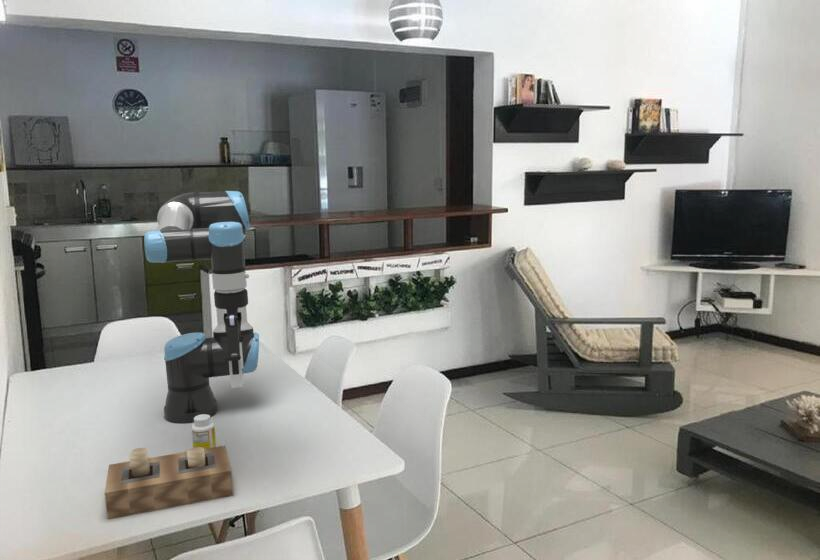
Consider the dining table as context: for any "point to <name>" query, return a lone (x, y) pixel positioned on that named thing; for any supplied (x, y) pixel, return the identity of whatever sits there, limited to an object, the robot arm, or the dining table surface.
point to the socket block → (167, 483)
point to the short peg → (196, 457)
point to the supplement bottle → (203, 432)
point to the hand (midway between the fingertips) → (237, 377)
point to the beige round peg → (139, 463)
